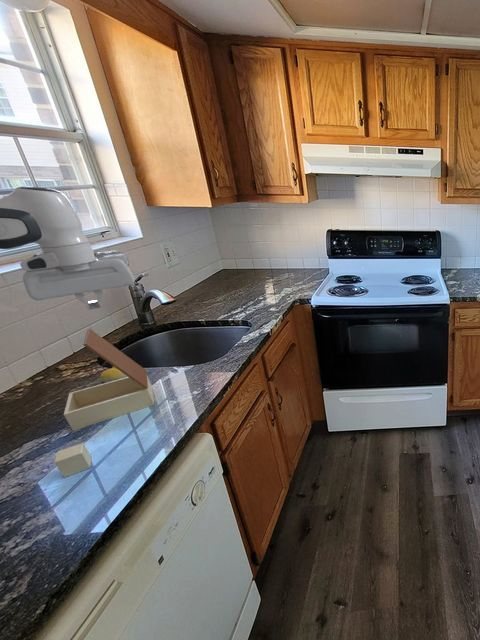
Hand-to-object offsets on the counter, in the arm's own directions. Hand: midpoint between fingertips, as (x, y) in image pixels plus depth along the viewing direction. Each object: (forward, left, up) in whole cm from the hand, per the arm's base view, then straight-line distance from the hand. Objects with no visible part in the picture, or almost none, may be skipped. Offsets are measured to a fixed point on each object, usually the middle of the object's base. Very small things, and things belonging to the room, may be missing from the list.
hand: (95, 307), depth 97 cm
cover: (0, 0, -15) cm, 16 cm away
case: (-4, -4, -29) cm, 30 cm away
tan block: (+10, -27, -29) cm, 41 cm away
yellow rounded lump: (-19, +12, -30) cm, 37 cm away
